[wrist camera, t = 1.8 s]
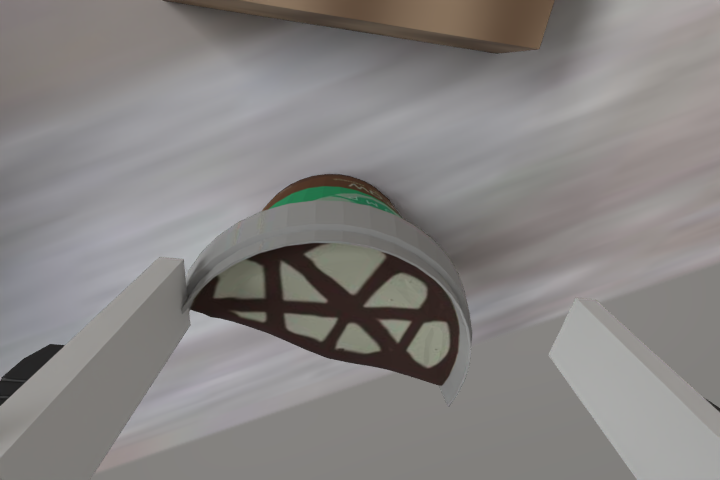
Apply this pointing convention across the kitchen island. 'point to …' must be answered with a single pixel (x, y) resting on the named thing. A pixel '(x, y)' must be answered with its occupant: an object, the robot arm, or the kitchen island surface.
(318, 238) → the food container
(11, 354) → the kitchen island surface
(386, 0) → the plate
